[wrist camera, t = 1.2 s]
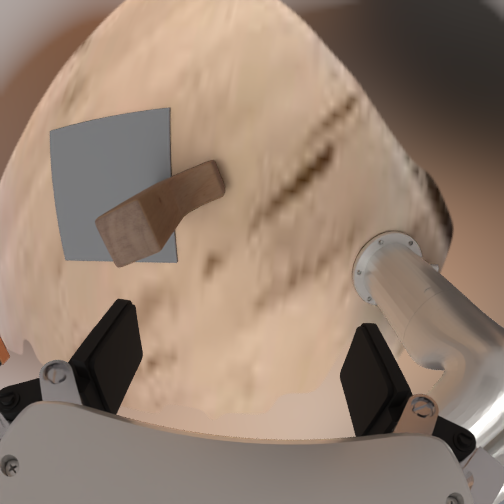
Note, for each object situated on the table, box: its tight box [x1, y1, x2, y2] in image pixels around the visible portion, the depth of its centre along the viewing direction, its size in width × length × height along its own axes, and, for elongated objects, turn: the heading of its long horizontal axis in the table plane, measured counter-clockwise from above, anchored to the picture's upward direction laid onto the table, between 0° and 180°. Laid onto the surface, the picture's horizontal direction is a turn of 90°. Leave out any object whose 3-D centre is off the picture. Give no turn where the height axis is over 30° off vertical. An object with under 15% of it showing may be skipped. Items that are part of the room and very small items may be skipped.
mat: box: [50, 108, 178, 263], centre depth 36 cm, size 21×22×1 cm
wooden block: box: [95, 160, 225, 267], centre depth 28 cm, size 9×4×18 cm, turn 110°
